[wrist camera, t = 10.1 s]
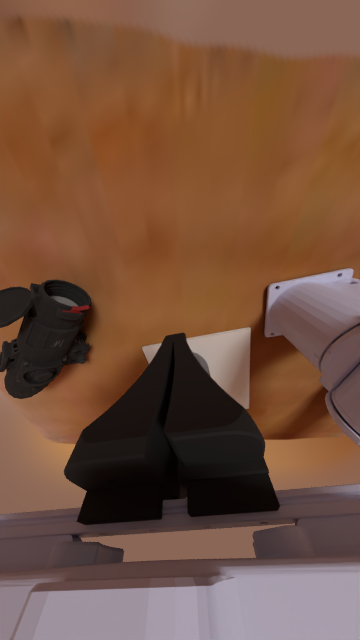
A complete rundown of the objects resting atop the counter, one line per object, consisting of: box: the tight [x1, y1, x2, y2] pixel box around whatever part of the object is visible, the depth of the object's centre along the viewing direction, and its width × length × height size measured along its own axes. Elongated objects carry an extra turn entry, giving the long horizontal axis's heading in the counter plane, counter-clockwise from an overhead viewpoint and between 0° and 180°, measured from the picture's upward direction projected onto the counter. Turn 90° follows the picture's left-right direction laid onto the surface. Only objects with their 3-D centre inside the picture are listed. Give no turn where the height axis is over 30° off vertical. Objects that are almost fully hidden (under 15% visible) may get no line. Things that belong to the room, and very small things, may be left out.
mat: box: [142, 327, 251, 409], centre depth 28 cm, size 16×20×1 cm
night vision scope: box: [0, 280, 91, 399], centre depth 18 cm, size 8×18×10 cm
